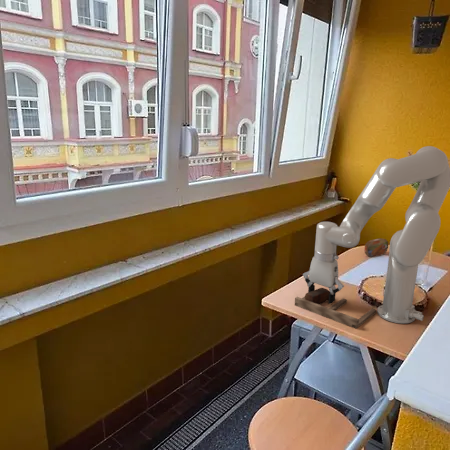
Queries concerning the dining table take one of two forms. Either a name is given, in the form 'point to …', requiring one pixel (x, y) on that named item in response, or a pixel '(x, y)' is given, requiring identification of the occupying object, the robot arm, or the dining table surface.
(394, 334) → the dining table surface
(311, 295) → the brick
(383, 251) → the tin
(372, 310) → the lane rack
